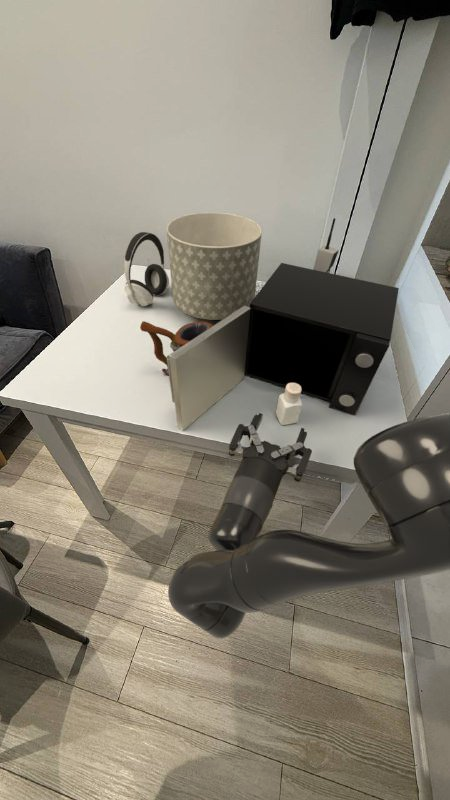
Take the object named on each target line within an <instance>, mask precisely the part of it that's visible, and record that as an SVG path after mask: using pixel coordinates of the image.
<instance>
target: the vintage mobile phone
mask: <svg viewBox="0 0 450 800" xmlns="http://www.w3.org/2000/svg"><path fill="white" fill-rule="evenodd" d="M335 223H336V218H335V217H333V219H332V223H331V226H330V231H329V235H328V236H327V241H326V245H323V246H321V247H320V248H318V249H317V253H316V257H315V261H314V266H313V270H317V271H322V272H326V273H330V272H331V269H332V267H334V265H335V262H336V259H337V256H338V254H339V251H340V250H339V249H337V248H335V247H331V246H330V244H331V240H332V236H333V235H332V234H333V231H334V227H335Z"/></svg>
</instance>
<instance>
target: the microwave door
mask: <svg viewBox="0 0 450 800" xmlns="http://www.w3.org/2000/svg"><path fill="white" fill-rule="evenodd" d="M250 311H251V308H249V307H247V306H243V307H241V308H240V309H238V310H237V311H235V312H234V313H232V314H231V315H229V316H228V317H226V318H225V319H221V320H220V321H218V322H217V323H216V324H214V325H213V326H212V327H211V328H209V329H208V330H206V331H205V332H203V333H202V334H200V335H199V336H197V337H196V338H194V339H193V340H191V341H190V342H188V343H187V344H185V345H183V346H182V347H180V348H179V349H177V350H176V351H173V352H171V353H170V354H168V355H166V357H167V362H168V367H167V369H168V370H169V375H168V377H169V386H170V393H171V394H170V395H171V401H172V403H174V407H175V416H176V424H177V428H178V429H179V430H181V431H182V432H184V431H185V430H187V428H188V427H189V426H191V425H192V424H193V423H194V422H195V421H197V420H198V419H199V418H200V417H201V416H203V414H205V413H206V412H207V411H208V410H209V409H210V408H211V407H213V406H214V405H215V404H216V403H218V402H219V401H220V400H221V399H222V398H223V397H224V396H225V395H227V394H228V393H229V392H231V391H232V390H233V389H234V388H235V387H236V386H237V385H238V384H239V383H241V382H242V381H243V380H244V379H245V376H244V372H245V362H246V352H247V341H248V331H249V321H250Z"/></svg>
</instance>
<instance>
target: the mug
mask: <svg viewBox="0 0 450 800" xmlns="http://www.w3.org/2000/svg"><path fill="white" fill-rule="evenodd" d="M212 326H214V325H213V324H212V323H211V322H208V321H201V320H200V321H195V322H188V323H186V324H184V325H182V326H181V327H180V328H178V330H177V331H176V332H175V333H174V332H172V331H170V330H168V329H166V328H163V327H159V326H156V325H155V324H152V323H150V322H147V321H142V322H141V324H140V327H139V328H140V331H141V332H145V333H148V335H149V336H150V339H151V340H152V342H153V349H154V350H153V353H154V355H155V358H156V359H157V360H158V361H160V362H162V363H163V364H164V365H166V367H167V368H161V372H162V373H163V374H164V375H166V376H169V370H168V362H167V355H165V354H164V345H163V344H164V343H163V342H162V339H161V338H160V336H164V337H166V338H168V339H169V340H170V341H171V342H170V344H169V347H170V349H171V350H172V351H173V352H174V351H176V350H177V349H179V348H180V347H182V346H183V345H185V344H187V343H188V342H190V341H191V340H193V339H194V338H196V337H197V336H199V335H200V334H202V333H203V332H205V331H206V330H208V329H209V328H211V327H212ZM158 335H160V336H158Z"/></svg>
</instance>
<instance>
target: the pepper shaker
mask: <svg viewBox="0 0 450 800" xmlns="http://www.w3.org/2000/svg"><path fill="white" fill-rule="evenodd" d="M301 391H302V389H301V386H300V385H299V384H297V383H289V384H287V385H286V388H284V393H281V394H279V396H278V400H277V405H276V410H275V415H276V418H277V419H278V421H279V424H280V425H282V426H285V425H291V424H296V423H298V421H299V417H300V414H301V411H302V407H303V401H302V399H301V395H302V394H301Z"/></svg>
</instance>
